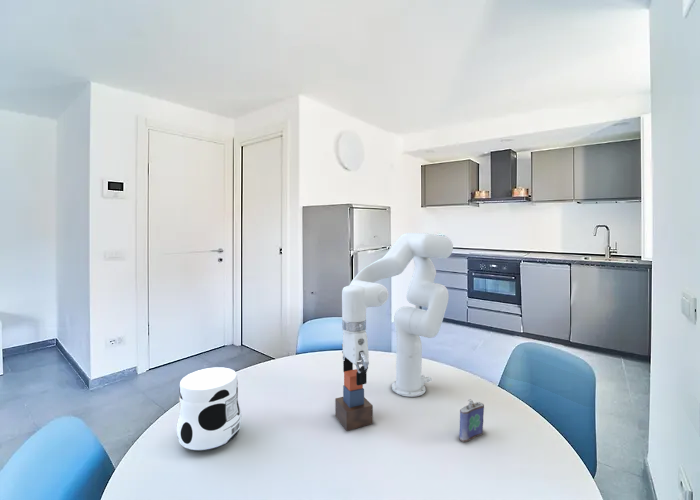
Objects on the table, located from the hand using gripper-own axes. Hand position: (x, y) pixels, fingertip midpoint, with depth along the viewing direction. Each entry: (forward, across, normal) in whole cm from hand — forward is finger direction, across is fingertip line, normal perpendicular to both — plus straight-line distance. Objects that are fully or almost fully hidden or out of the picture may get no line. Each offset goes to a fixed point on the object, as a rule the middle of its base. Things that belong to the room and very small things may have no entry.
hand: (354, 377), depth 108 cm
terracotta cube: (+3, 0, 0) cm, 3 cm away
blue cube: (+8, 0, +1) cm, 8 cm away
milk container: (+13, +9, +42) cm, 45 cm away
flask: (+14, -22, -28) cm, 38 cm away
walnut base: (+14, 0, 0) cm, 14 cm away
